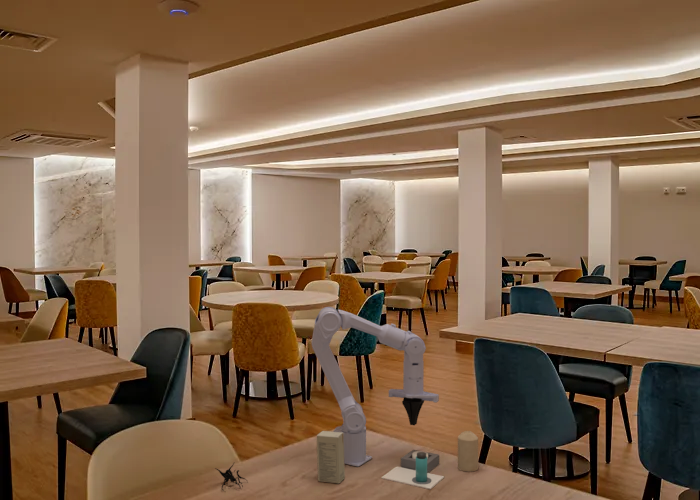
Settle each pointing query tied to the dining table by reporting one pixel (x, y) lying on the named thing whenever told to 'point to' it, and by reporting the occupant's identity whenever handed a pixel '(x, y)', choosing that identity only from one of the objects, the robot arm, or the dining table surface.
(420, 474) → the bottle
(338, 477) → the skincare box
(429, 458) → the button housing
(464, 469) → the candle
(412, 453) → the button
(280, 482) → the dining table surface
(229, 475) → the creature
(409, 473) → the paper
